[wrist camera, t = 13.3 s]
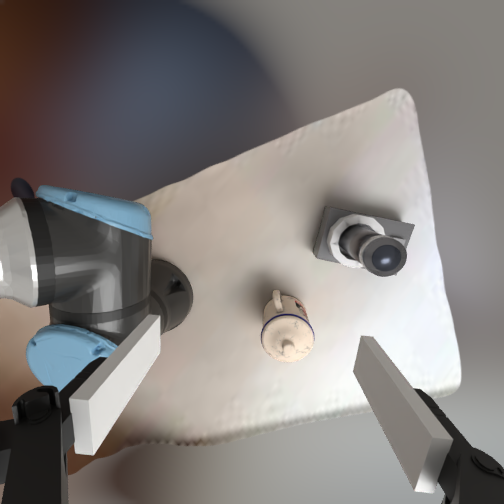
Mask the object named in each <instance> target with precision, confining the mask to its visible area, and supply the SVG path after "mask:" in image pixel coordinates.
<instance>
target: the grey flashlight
mask: <svg viewBox="0 0 504 504" xmlns="http://www.w3.org/2000/svg"><path fill="white" fill-rule="evenodd" d="M338 244H339V246H340V247H341V248H342V249H343V250H345V251H346V252H347V253H348V254H349V255H351V256H352V257H353V258H354V259H356V260H357V261H358V262H359V263H361V264H362V266H363V267H364V268H365V269H367V270H368V271H369V272H371V273H373V274H375V275H377V276H382V277H386V276H391V275H393V274H396V273H397V272H399V271H400V270H401V269H402V268H403V266H404V265H405V262H406V259H407V252H406V249H405V247H404V246H403V245H402V244H401V243H400V242H399V241H397V240H396V239H394V238H392V237H389V236H386V235H382V234H379V233H376V232H374V231H371V230H369V229H366V228H363V227H361V226H358V225H355V224H354V225H351V226H348V227H347V228H346V229H345V230H344V231H343V232H342V233H341V235H340V238H339V242H338Z"/></svg>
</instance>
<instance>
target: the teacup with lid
mask: <svg viewBox="0 0 504 504" xmlns="http://www.w3.org/2000/svg"><path fill="white" fill-rule="evenodd" d="M272 296H273V299H272V300H271V301H269V302H268V304H267V305H266V307H265V309H264V315H263V329H262V332H261V342H262V345H263V348H264V349H265V351H266V352H267V353H268V354H269V355H270V356H271V357H272V358H274V359H276V360H278V361H281V362H295V361H298V360H301V359H303V358H304V357H305V356H307V355H308V354H309V352H310V351H311V349H312V347H313V344H314V332H313V329H312V327H311V325H310V324H309V320H308V317H307V314H306V311H305V308H304V306H303V304H302V303H301V302H300V301H299V300H297V299H296V298H294V297H291V296H281V294H280V292H279V290H274V291H273V292H272Z"/></svg>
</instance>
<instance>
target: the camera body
mask: <svg viewBox="0 0 504 504" xmlns="http://www.w3.org/2000/svg"><path fill="white" fill-rule="evenodd" d="M354 224H355V225H358V226H361V227H363V228H366V229H369V230H371V231H374V232H376V233H379V234H382V235H386V236H389V237H392V238H394V239H396V240H397V241H399V242H400V243H401V244H402V245H403V246H404V247H405V249H406V248H407V245H408V242H409V240H410V237H411V234H412V231H413V229H414V226H415V225H414V224H409V223H405V222H400V221H395V220H390V219H385V218H380V217H376V216H371V215H366V214H361V213H356V212H351V211H347V210H342V209H337V208H332V207H327V206H326V207H325V210H324V214H323V218H322V221H321V225H320V229H319V232H318V236H317V240H316V244H315V247H314V251H313V254H314V255H315V257H316V258H317V259H322V260H327V261H331V262H336V263H341V264H342V265H343V266H348V267H353V268H364V267H363V266H362V264H361V263H359V262H358V261H357V260H356V259H354V258H353V257H352V256H351V255H349V254H348V253H347V252H346V251H345V250H343V249H342V248H341V247H340V246H339V244H338V242H339V238H340V235H341V233H342V232H343V231H344V230H345V229H346V228H347V227H348V226H351V225H354ZM364 269H365V268H364ZM393 275H397V273H396V274H393Z"/></svg>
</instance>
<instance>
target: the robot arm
mask: <svg viewBox="0 0 504 504" xmlns="http://www.w3.org/2000/svg"><path fill="white" fill-rule="evenodd" d="M36 196H37V197H38V198H13V199H11V200H10V201H8V202H7V203H6V204H4V205H3V206H2V207H0V299H1V298H7V299H12V300H14V301H17V302H19V303H21V304H23V305H25V306H28V307H30V308H32V307H37V306H42V305H47V304H49V312H50V324H49V325H48V326H45V327H43V328H41V329H40V330H38V331H37V333H36V335H35V336H34V337H33V338H32V339H31V340H30V341H29V343H28V345H27V348H26V358H27V362H28V365H29V367H30V369H31V371H32V372H33V374H34V375H35V376H36V378H37V379H38V380H39V381H40V382H41V383H42V384H43V385H45V386H41V387H37V388H34V389H32V390H29V391H28V392H26V393H24V394H23V395H21V396H20V397H19V398H18V399H17V400H16V401H15V402H14V404H13V406H12V411H13V417H14V419H11V420H6V421H0V484H4V483H5V486H4V491H3V497H2V503H1V504H68V472H67V451H68V450H69V449H70V447H71V446H72V445H73V443H74V445H75V453H77V454H86V455H94V454H95V452H96V451H97V449H98V448H99V446H100V445H101V443H102V442H103V440H104V439H105V437H106V435H107V434H108V432H109V431H110V429H111V428H112V426H113V425H114V423H115V422H116V420H117V418H118V417H119V415H120V414H121V412H122V411H123V409H124V408H125V406H126V404H127V403H128V401H129V400H130V398H131V397H132V395H133V394H134V392H135V391H136V389H137V387H138V386H139V384H140V383H141V381H142V380H143V378H144V377H145V375H146V374H147V372H148V370H149V369H150V367H151V366H152V364H153V363H154V361H155V360H156V358H157V357H158V355H159V353H160V336H161V335H162V334H163V333H165V332H167V331H169V330H172V329H174V328H175V327H177V326H178V325H180V324H181V323H182V322H183V321H184V319H185V318H186V316H187V315H188V314H189V312H190V310H191V307H192V303H193V292H192V288H191V285H190V283H189V281H188V279H187V277H186V276H185V275H184V274H183V272H182V271H180V270H179V269H178V268H177V267H175V266H174V265H172V264H170V263H168V262H165V261H161V260H151V253H152V240H153V236H152V235H151V215H150V212H149V210H148V209H147V208H146V207H145V206H144V205H142V204H140V203H137V202H133V201H129V200H124V199H119V198H114V197H109V196H104V195H99V194H94V193H89V192H83V191H78V190H72V189H66V188H59V187H52V186H48V185H41V186H40V187H39V189H38V191H37V192H36ZM353 373H354V375H355V376H356V378H357V380H358V382H359V384H360V386H361V388H362V390H363V392H364V394H365V396H366V398H367V400H368V402H369V404H370V406H371V408H372V410H373V412H374V413H375V415H376V417H377V419H378V421H379V423H380V425H381V427H382V429H383V431H384V433H385V435H386V437H387V439H388V441H389V443H390V444H391V446H392V448H393V450H394V452H395V454H396V456H397V458H398V460H399V462H400V464H401V466H402V468H403V470H404V472H405V474H406V475H407V478H408V480H409V482H410V484H411V485H412V487H413V489H414V491H417V492H425V493H434V491H435V489H436V486H437V483H439V484H440V486H441V488H442V489H443V491H444V493H445V495H444V498H443V501H442V503H441V504H504V469H503V467H502V466H501V465H500V464H499V463H498V462H497V461H496V460H495V459H493V458H492V457H491V456H489V455H488V454H486V453H485V452H483V451H481V450H478V449H476V448H473V447H472V446H471V445H470V444H469V443H468V441H467V440H466V439H465V438H464V436H463V435H462V434H461V433H460V432H459V430H458V429H457V428H456V427H455V426H454V424H453V423H452V422H451V421H450V420H449V419H448V418H447V417H446V415H445V414H444V412H443V411H442V410H441V409H439V406H438V405H437V404H436V403H435V402H434V400H433V399H432V398H431V397H430V396H428V395H427V394H426V393H425V392H423V391H422V390H421V389H415V388H413V387H412V386H411V385H410V384H409V382H408V381H407V380H406V378H405V377H404V376H403V375H402V373H401V372H400V371H399V369H398V368H397V367H396V366H395V364H394V363H393V362H392V360H391V359H390V358H389V357H388V355H387V354H386V353H385V351H384V350H383V349H382V348H381V346H380V345H379V344H378V343H377V341H376V340H375V339H374V337H370V336H361V338H360V343H359V347H358V352H357V356H356V361H355V366H354V370H353Z"/></svg>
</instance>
